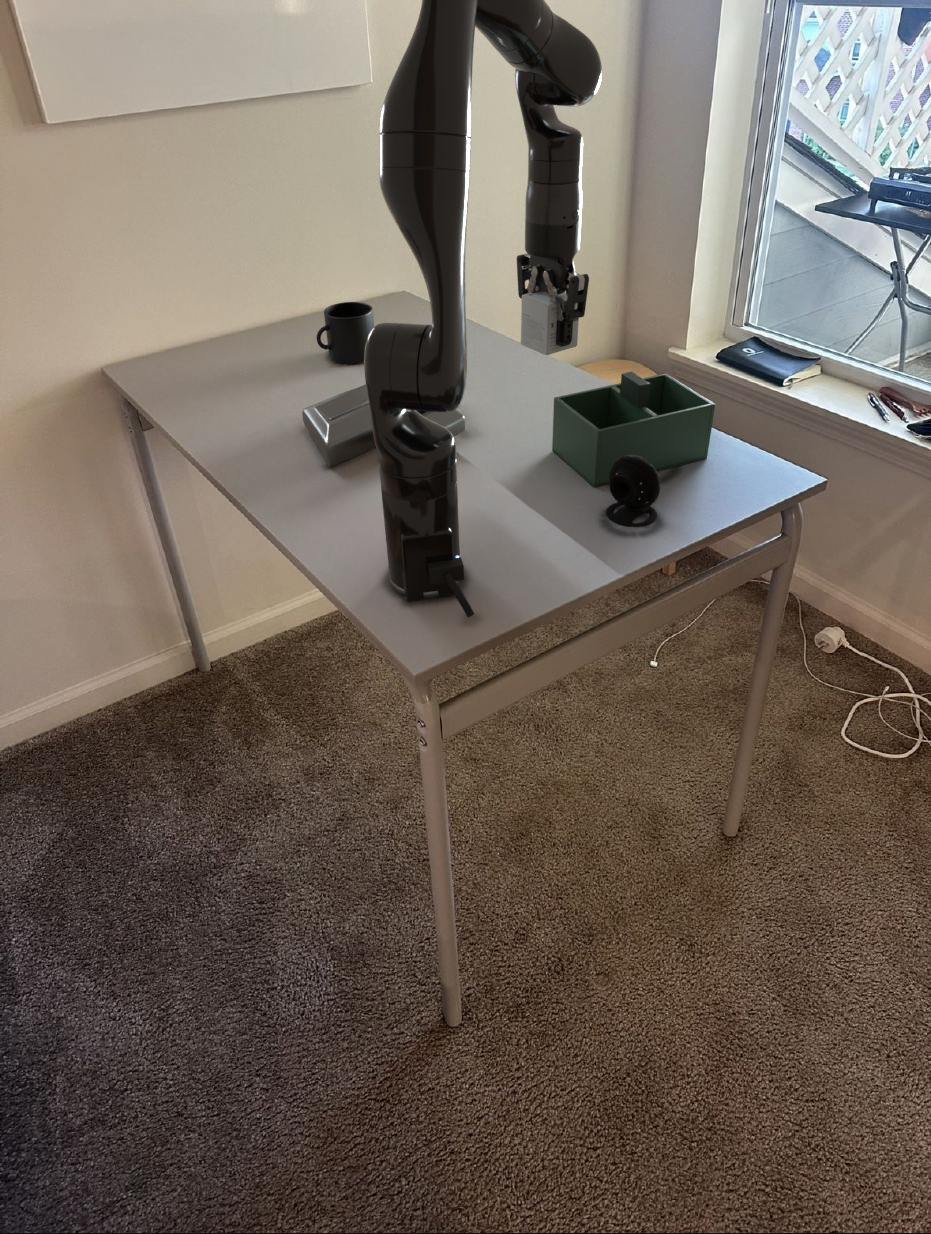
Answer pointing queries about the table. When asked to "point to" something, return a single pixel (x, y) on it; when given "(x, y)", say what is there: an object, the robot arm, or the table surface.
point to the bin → (631, 425)
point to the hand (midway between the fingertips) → (549, 337)
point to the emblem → (356, 425)
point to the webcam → (633, 490)
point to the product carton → (543, 323)
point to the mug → (347, 331)
